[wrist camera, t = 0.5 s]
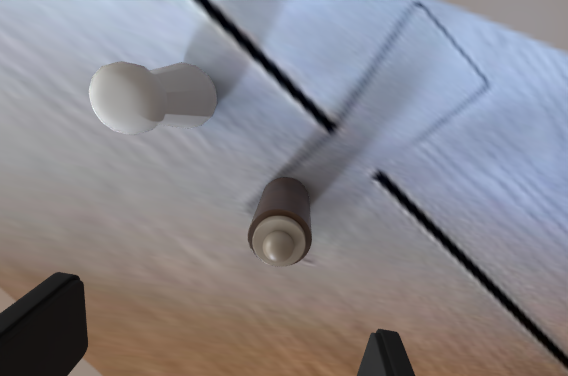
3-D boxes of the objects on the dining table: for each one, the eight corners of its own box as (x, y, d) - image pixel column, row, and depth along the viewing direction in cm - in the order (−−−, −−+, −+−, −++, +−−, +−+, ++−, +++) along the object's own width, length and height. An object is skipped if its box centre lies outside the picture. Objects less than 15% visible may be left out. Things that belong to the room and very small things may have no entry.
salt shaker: (177, 131, 31) (92, 158, 18) (157, 73, 29) (49, 61, 17) (230, 117, 30) (179, 136, 17) (213, 58, 28) (143, 32, 16)
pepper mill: (266, 172, 31) (247, 215, 21) (313, 182, 31) (319, 230, 21) (258, 216, 33) (237, 277, 22) (304, 225, 33) (304, 290, 22)
